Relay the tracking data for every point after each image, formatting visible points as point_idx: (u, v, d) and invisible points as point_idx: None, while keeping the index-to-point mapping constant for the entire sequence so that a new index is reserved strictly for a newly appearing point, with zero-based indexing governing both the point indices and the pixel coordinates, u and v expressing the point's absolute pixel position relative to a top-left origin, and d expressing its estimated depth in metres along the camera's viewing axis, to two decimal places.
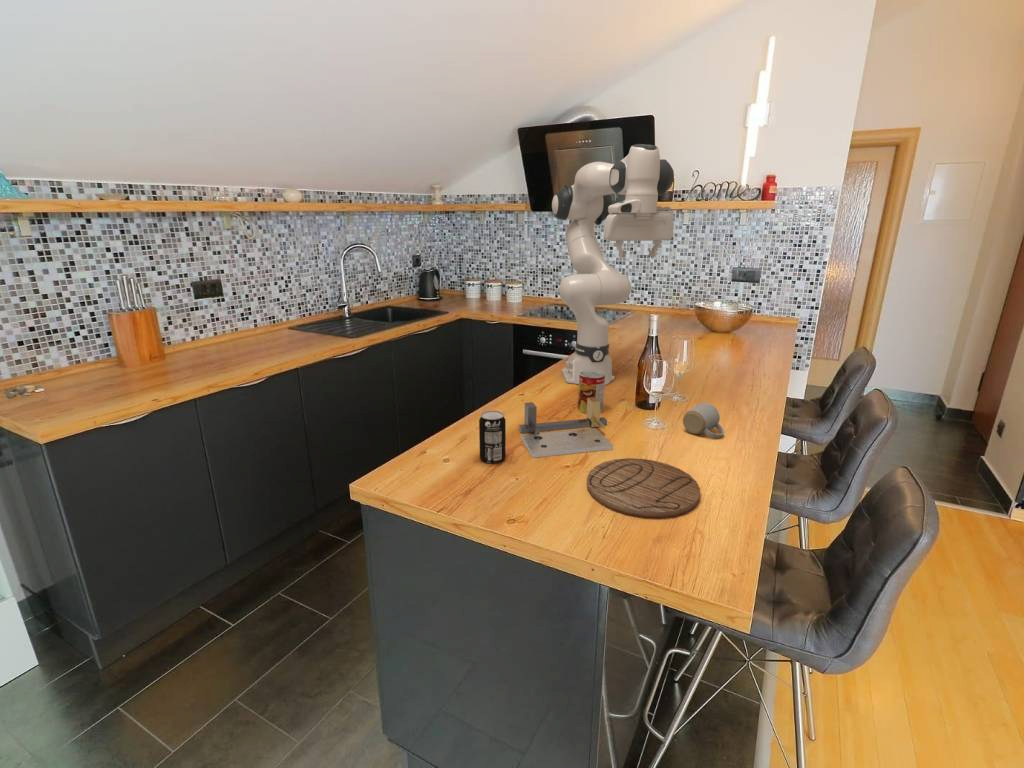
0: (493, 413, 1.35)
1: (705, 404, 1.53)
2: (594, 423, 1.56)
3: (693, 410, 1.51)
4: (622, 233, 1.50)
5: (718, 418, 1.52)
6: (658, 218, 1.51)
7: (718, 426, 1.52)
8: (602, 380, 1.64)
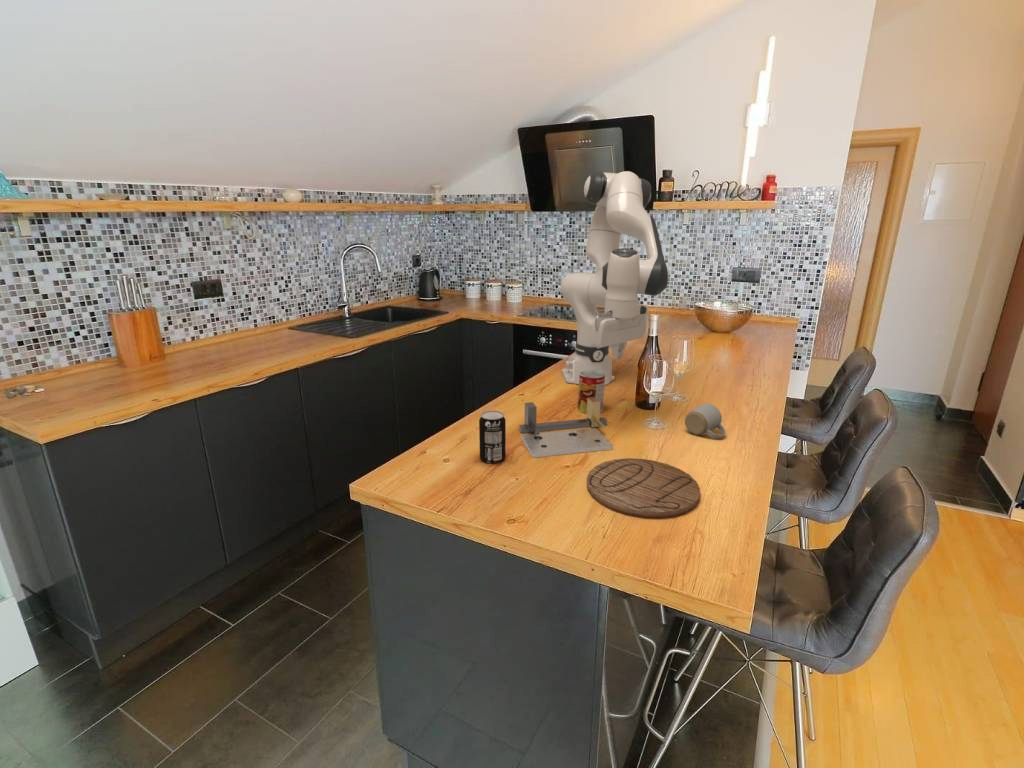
0: (493, 413, 1.35)
1: (707, 405, 1.53)
2: (594, 423, 1.56)
3: (695, 411, 1.50)
4: None
5: (720, 419, 1.52)
6: None
7: (720, 427, 1.52)
8: (602, 380, 1.64)
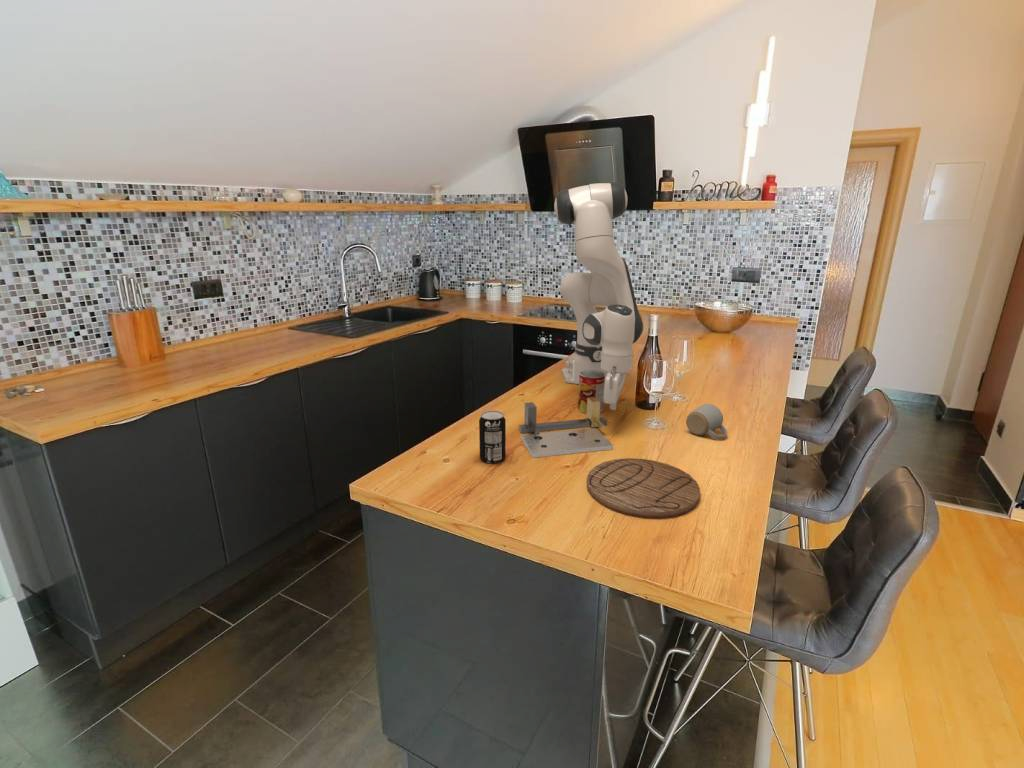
0: (493, 413, 1.35)
1: (708, 405, 1.53)
2: (594, 423, 1.56)
3: (696, 411, 1.50)
4: None
5: (721, 419, 1.52)
6: None
7: (721, 427, 1.51)
8: (602, 380, 1.64)
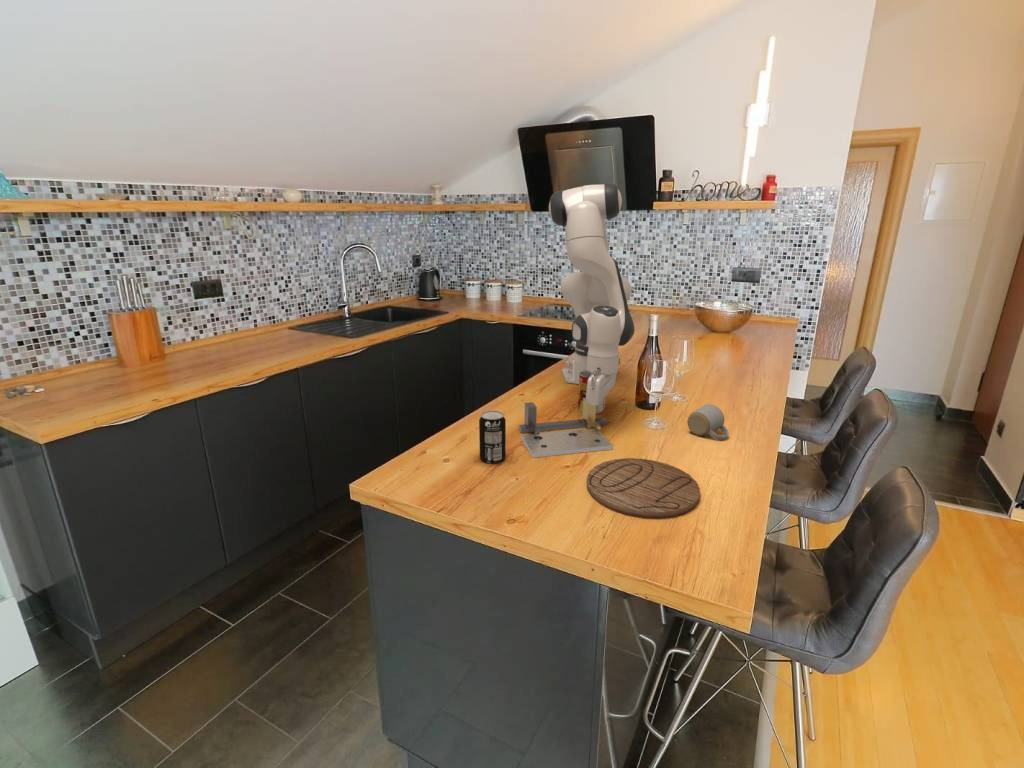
0: (493, 413, 1.35)
1: (710, 405, 1.52)
2: (590, 423, 1.55)
3: (698, 411, 1.50)
4: None
5: (723, 419, 1.51)
6: None
7: (723, 428, 1.51)
8: None
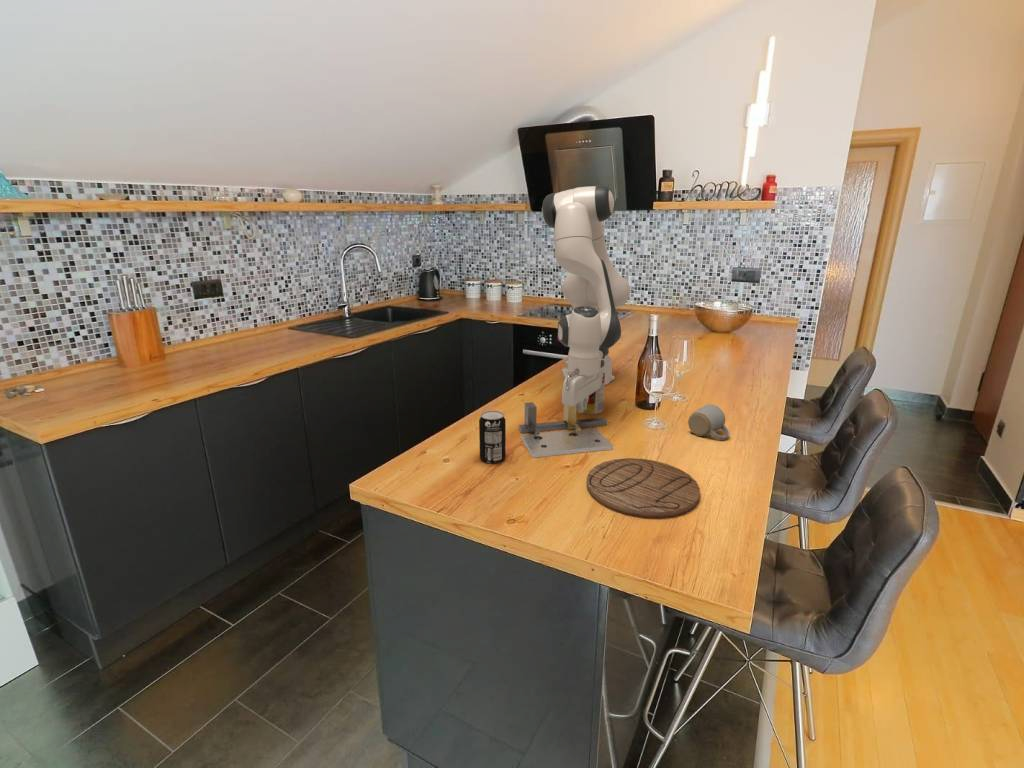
0: (493, 413, 1.35)
1: (711, 406, 1.52)
2: (570, 425, 1.54)
3: (698, 412, 1.50)
4: None
5: (724, 420, 1.51)
6: None
7: (724, 428, 1.51)
8: (602, 380, 1.64)
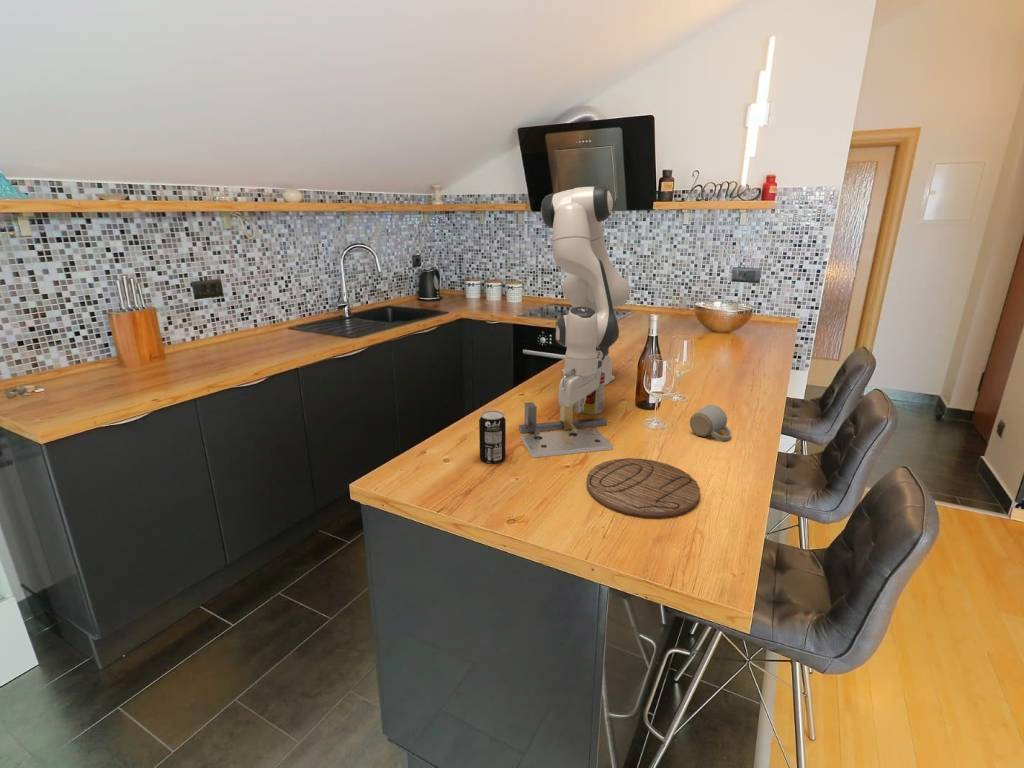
0: (493, 413, 1.35)
1: (712, 406, 1.52)
2: (567, 426, 1.54)
3: (700, 412, 1.49)
4: None
5: (725, 420, 1.51)
6: None
7: (725, 428, 1.51)
8: (602, 380, 1.64)
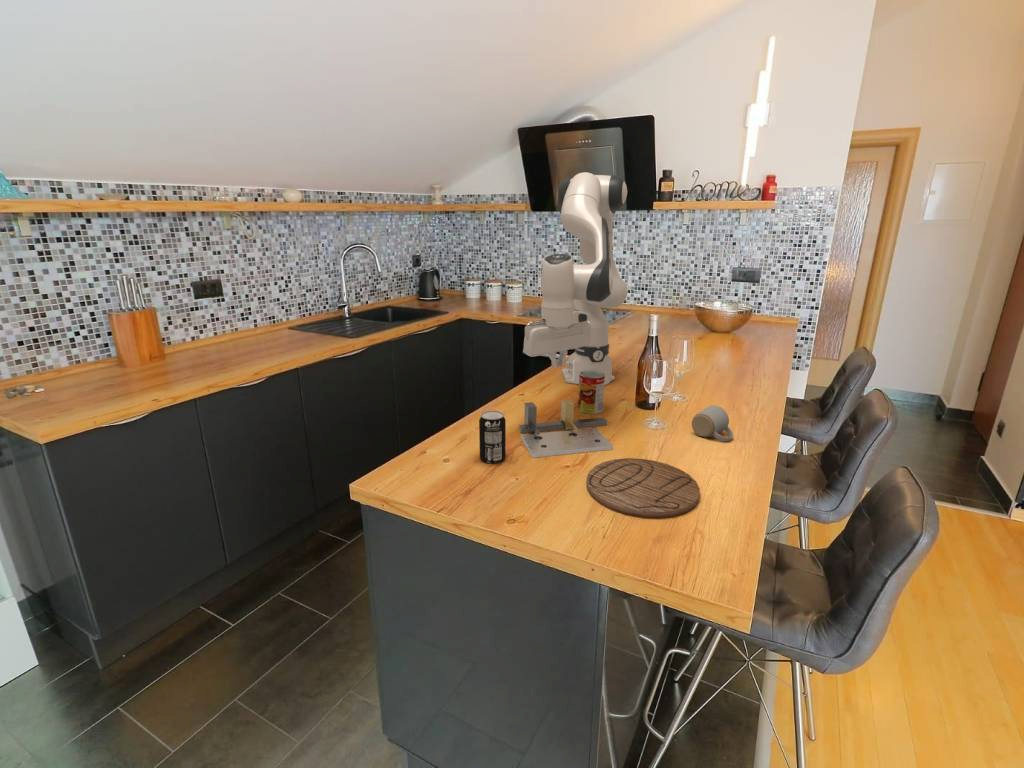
0: (493, 413, 1.35)
1: (714, 407, 1.51)
2: (568, 425, 1.54)
3: (702, 413, 1.49)
4: None
5: (727, 421, 1.50)
6: None
7: (727, 429, 1.50)
8: (602, 380, 1.64)
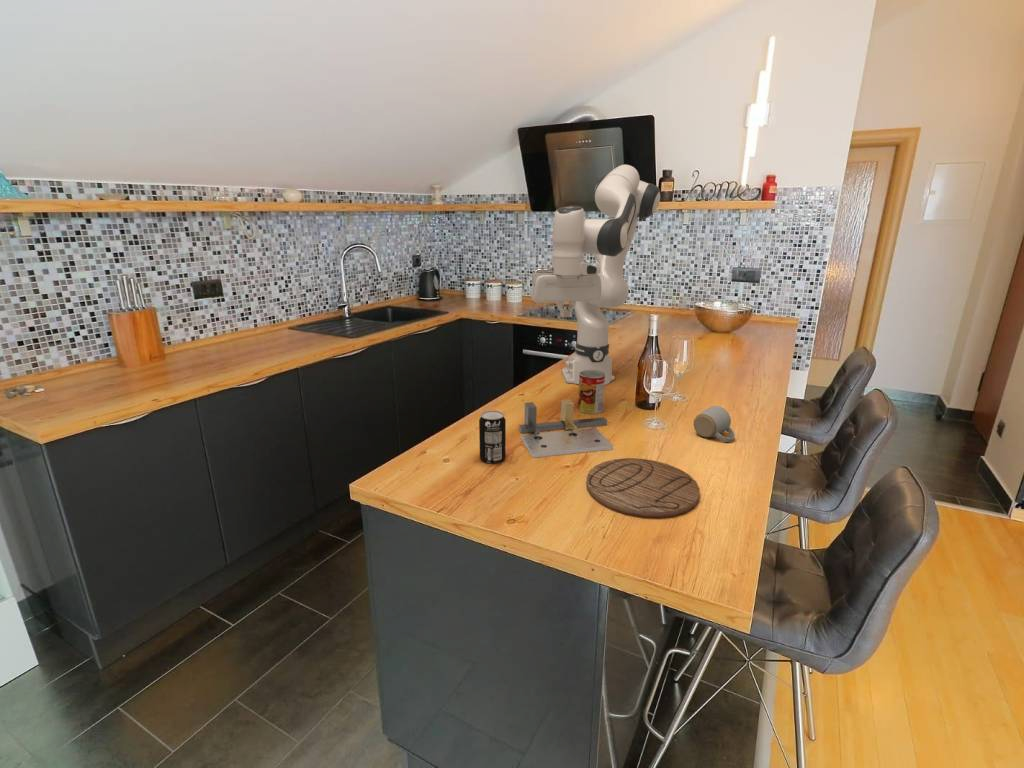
0: (493, 413, 1.35)
1: (716, 407, 1.51)
2: (568, 425, 1.54)
3: (704, 413, 1.48)
4: None
5: (729, 421, 1.50)
6: None
7: (729, 430, 1.50)
8: (602, 380, 1.64)
